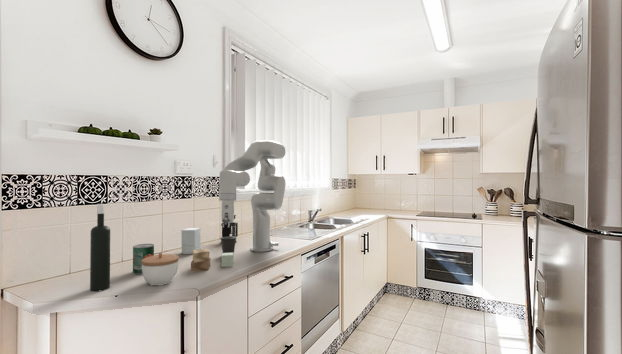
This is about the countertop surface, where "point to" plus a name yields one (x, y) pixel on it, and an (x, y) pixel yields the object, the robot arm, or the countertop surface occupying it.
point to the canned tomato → (141, 256)
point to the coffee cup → (228, 244)
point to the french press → (233, 228)
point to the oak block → (200, 255)
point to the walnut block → (200, 266)
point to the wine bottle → (100, 253)
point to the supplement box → (190, 240)
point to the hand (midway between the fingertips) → (226, 235)
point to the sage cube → (227, 259)
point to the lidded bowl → (159, 268)
